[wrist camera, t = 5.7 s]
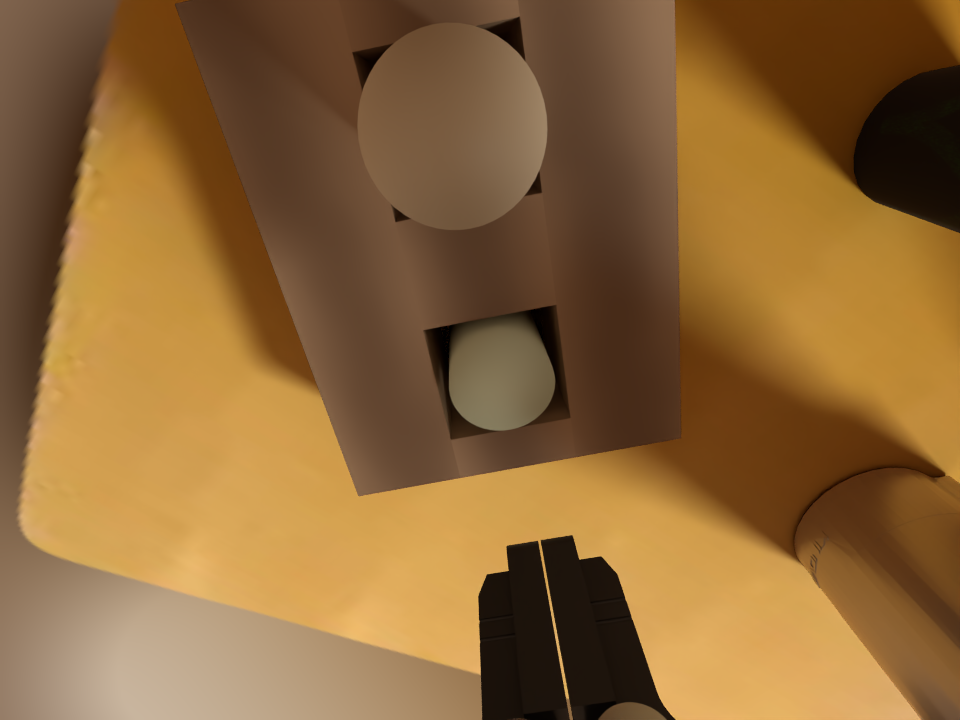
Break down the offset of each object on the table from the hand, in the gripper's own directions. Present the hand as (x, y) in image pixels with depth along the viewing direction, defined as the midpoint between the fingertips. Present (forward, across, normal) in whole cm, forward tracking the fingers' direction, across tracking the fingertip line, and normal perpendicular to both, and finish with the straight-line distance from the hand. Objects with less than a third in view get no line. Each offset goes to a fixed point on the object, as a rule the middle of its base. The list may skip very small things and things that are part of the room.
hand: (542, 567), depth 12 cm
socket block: (+15, 0, -5) cm, 16 cm away
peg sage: (+15, 0, 0) cm, 15 cm away
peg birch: (+10, 0, -9) cm, 14 cm away
